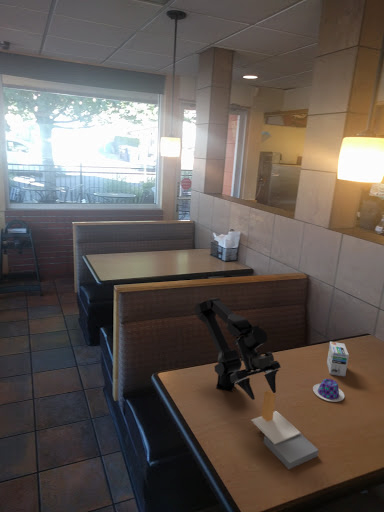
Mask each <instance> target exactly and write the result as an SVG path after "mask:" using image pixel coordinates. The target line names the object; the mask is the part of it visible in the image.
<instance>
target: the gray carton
mask: <svg viewBox="0 0 384 512" xmlns="http://www.w3.org/2000/svg"><path fill="white" fill-rule="evenodd" d="M262 441H263V444H264V445H265V446H266V447H267V448H268V449H269V451H271V453H272V454H273V455H274V456H276V458H277V459H278V460H279V461H280V462H281V463H282V464H283V465H284V466H285V467H286V469H288V470H290V469H293V468H295V467H297V466H300V465H302V464H304V463H306V462H308V461H311V460H313V459H314V458H317V457H318V455H319V449H318V448H317V446H315V445H314V444H313V443H312V442H311V441H309V439H307V438H306V437H305V436H304V435H303V434H302V433H301V434H299V435H297V436H294V437H292V438H290V439H287V440H285V441H282V442H280V443H277V444H275V445H274V443H273V442H272V441H271V440H270V439H269V438H268V437H267V436H266V435H265V436H263V440H262Z"/></svg>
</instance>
